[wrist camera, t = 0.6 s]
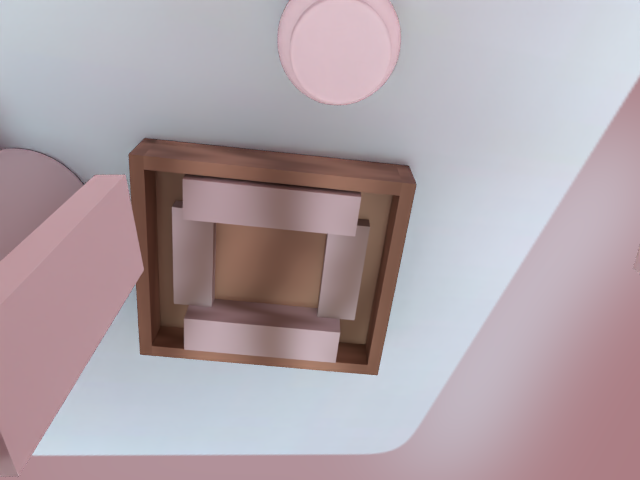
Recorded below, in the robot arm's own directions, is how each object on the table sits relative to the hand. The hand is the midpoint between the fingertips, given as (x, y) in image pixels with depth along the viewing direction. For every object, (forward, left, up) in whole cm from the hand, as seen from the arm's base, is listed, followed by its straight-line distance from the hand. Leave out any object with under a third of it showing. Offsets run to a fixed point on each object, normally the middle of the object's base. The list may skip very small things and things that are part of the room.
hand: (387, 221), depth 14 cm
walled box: (-4, -12, -19) cm, 23 cm away
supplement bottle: (-1, +2, -19) cm, 20 cm away
